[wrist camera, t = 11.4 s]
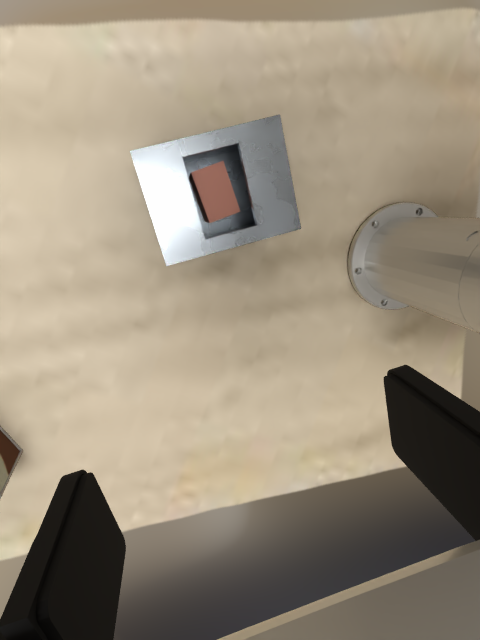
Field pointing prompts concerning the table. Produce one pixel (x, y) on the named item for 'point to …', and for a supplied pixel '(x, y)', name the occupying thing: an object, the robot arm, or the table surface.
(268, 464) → the table surface
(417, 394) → the robot arm
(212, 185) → the block
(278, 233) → the box
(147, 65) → the table surface
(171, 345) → the table surface
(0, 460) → the food container
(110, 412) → the table surface
